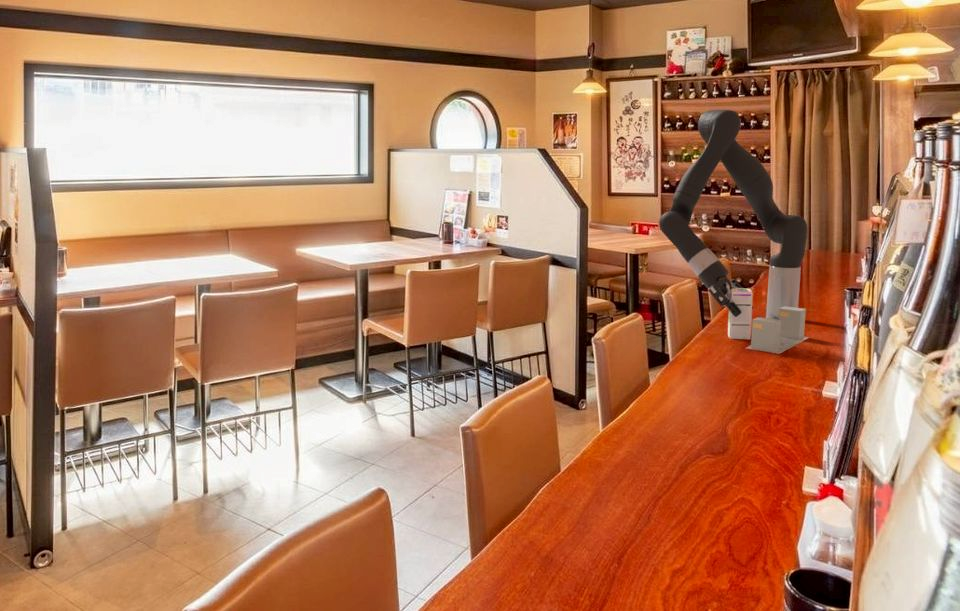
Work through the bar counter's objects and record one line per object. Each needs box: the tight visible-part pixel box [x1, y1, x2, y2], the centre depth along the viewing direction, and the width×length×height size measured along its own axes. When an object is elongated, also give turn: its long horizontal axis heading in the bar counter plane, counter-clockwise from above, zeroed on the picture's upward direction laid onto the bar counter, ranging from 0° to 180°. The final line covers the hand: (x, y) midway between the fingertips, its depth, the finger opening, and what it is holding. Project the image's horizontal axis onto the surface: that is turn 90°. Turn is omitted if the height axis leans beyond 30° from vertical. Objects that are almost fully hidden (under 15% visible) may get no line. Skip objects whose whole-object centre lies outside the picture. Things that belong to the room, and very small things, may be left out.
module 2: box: [778, 306, 807, 339], centre depth 211 cm, size 4×6×8 cm
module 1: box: [750, 316, 781, 354], centre depth 197 cm, size 4×6×8 cm
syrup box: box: [727, 287, 754, 340], centre depth 211 cm, size 6×6×14 cm
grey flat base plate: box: [745, 336, 810, 355], centre depth 205 cm, size 23×9×1 cm, turn 138°
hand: (744, 312), depth 210 cm, fingers closed on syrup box, 8 cm apart
